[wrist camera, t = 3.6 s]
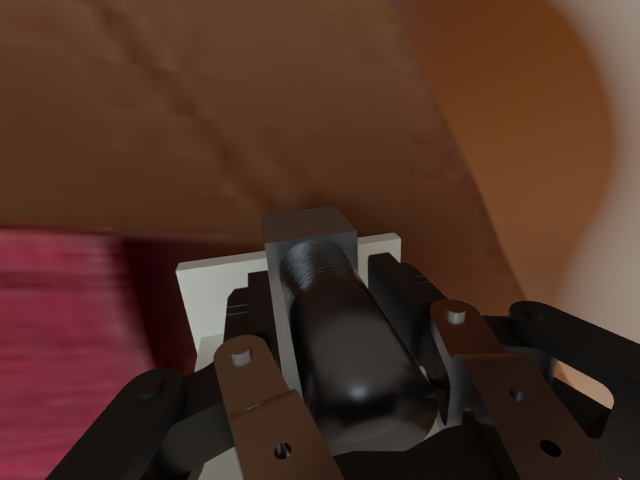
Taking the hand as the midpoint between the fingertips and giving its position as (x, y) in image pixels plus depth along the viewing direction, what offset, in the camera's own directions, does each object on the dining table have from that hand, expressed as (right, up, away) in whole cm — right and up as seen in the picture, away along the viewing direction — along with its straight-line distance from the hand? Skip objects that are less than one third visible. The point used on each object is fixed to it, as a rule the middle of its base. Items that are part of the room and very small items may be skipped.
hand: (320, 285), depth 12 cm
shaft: (0, -8, +8) cm, 12 cm away
